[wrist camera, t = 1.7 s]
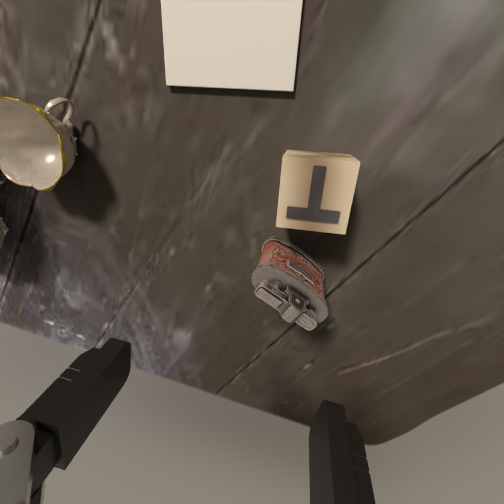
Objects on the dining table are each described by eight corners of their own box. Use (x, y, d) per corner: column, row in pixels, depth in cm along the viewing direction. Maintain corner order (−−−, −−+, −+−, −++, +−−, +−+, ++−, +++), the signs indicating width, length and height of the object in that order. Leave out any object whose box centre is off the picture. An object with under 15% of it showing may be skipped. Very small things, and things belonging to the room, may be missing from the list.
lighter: (330, 270, 32) (339, 326, 23) (311, 289, 34) (313, 349, 25) (273, 229, 32) (260, 272, 23) (256, 251, 33) (238, 299, 24)
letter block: (350, 154, 27) (360, 162, 22) (338, 216, 30) (345, 237, 24) (287, 149, 28) (282, 156, 22) (281, 210, 31) (275, 229, 25)
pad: (312, -98, 21) (313, -103, 20) (293, 91, 26) (293, 90, 25) (158, -91, 22) (154, -96, 22) (169, 85, 27) (166, 85, 27)
